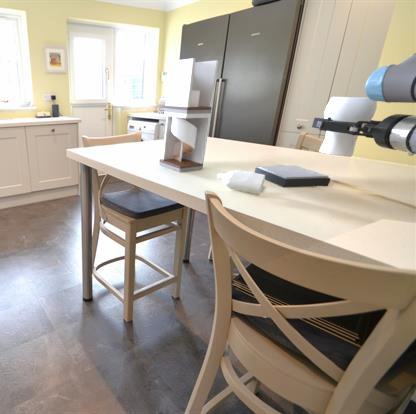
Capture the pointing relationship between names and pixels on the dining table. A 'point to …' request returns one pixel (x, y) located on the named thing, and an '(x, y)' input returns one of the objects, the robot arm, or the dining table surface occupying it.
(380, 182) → the dining table surface
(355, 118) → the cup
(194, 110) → the white wooden shelf unit
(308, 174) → the scale
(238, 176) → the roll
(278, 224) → the dining table surface
